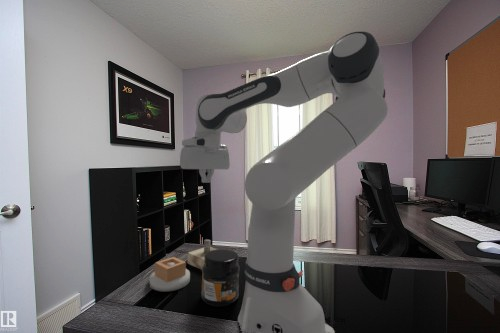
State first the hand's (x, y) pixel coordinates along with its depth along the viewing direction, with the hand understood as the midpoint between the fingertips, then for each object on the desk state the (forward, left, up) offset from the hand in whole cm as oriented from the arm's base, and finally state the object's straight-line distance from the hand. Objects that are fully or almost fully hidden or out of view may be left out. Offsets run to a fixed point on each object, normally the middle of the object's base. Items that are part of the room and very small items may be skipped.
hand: (206, 182), depth 82 cm
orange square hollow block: (+2, +12, -29) cm, 31 cm away
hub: (+2, +12, -31) cm, 33 cm away
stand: (+4, -5, -31) cm, 32 cm away
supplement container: (-16, +8, -31) cm, 36 cm away
